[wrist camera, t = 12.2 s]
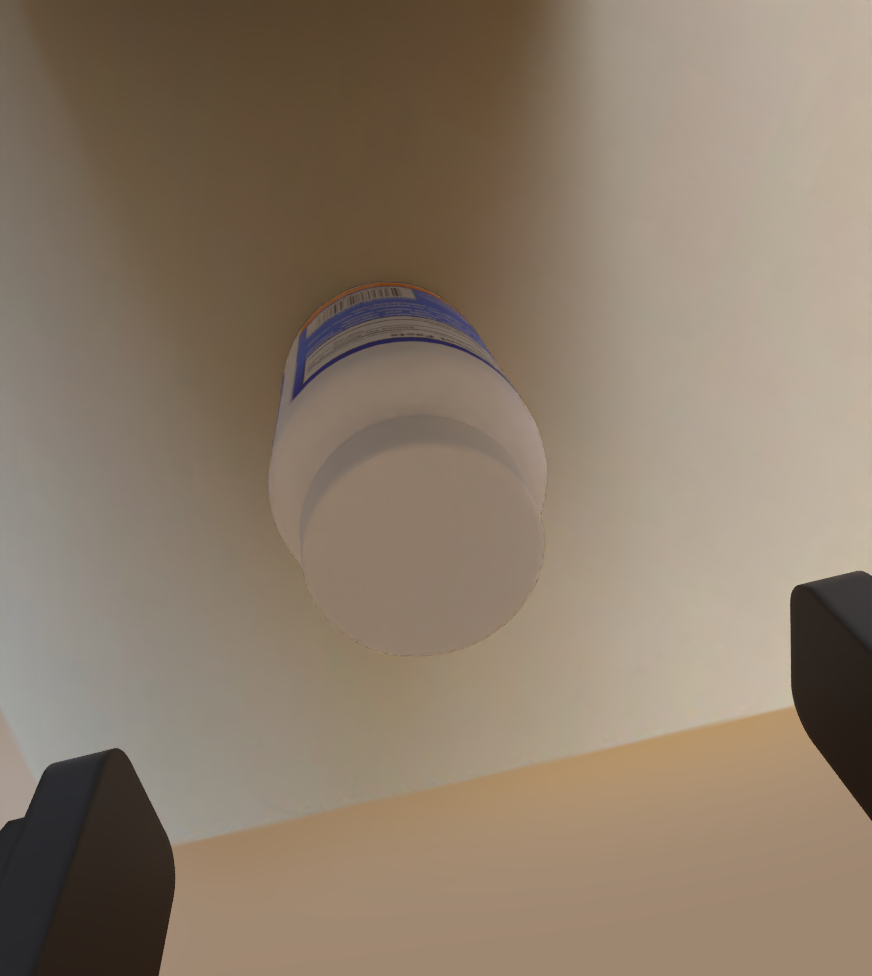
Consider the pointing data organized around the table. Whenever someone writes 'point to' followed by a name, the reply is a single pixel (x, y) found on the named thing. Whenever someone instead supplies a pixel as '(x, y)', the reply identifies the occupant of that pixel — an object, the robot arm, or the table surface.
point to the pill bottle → (406, 473)
